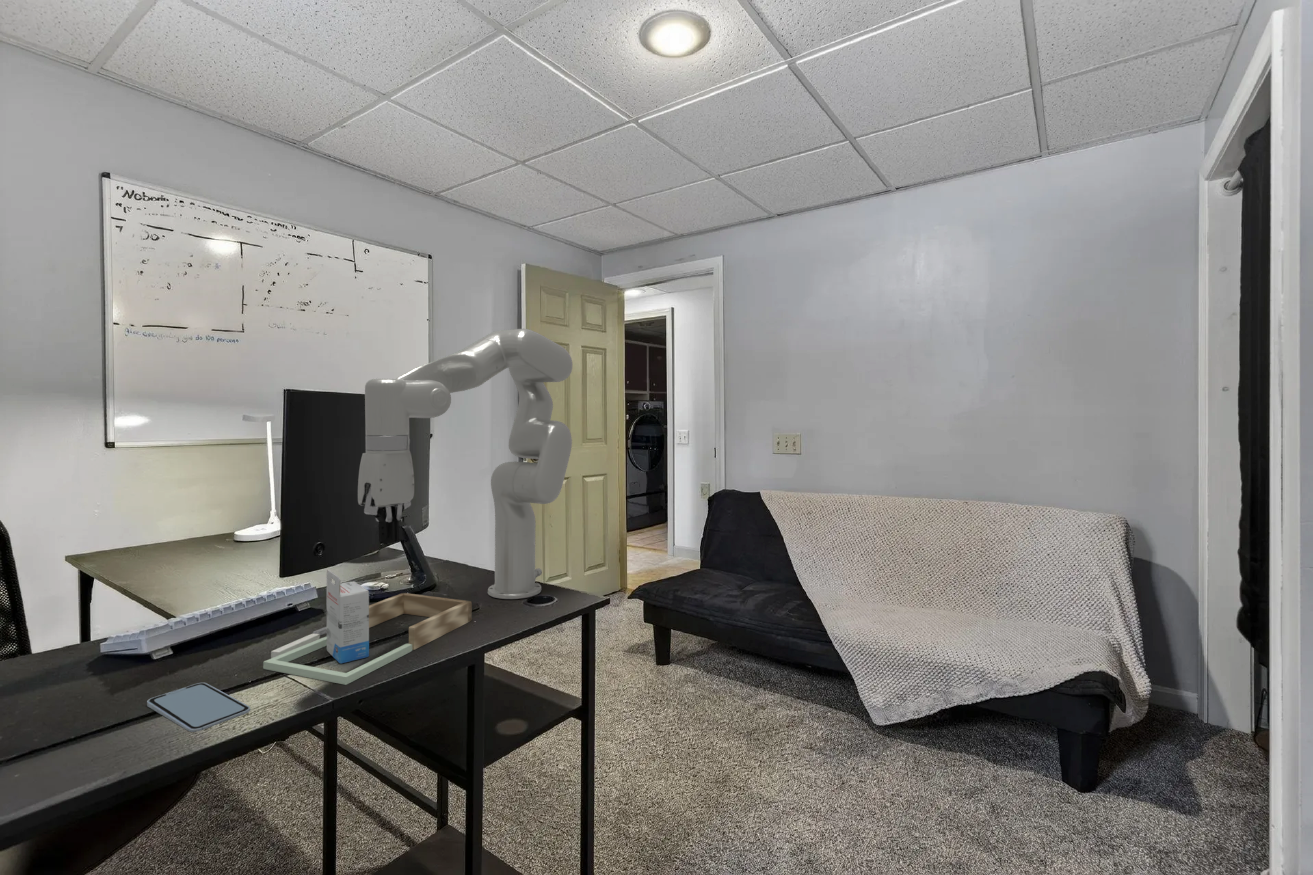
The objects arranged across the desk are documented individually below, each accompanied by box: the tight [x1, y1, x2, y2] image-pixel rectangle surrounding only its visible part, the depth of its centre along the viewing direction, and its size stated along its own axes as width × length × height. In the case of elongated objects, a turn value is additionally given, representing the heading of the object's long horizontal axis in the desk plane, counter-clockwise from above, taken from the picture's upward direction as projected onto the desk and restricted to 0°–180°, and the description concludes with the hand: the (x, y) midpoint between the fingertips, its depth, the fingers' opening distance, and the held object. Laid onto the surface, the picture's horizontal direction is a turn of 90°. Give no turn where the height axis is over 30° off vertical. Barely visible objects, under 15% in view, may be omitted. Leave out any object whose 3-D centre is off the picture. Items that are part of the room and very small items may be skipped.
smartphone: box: [146, 682, 251, 733], centre depth 85 cm, size 7×1×15 cm
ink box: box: [326, 568, 370, 664], centre depth 105 cm, size 9×5×15 cm, turn 43°
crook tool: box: [312, 625, 327, 637], centre depth 119 cm, size 12×5×1 cm, turn 161°
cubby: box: [369, 592, 473, 651], centre depth 118 cm, size 17×17×4 cm
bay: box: [262, 635, 413, 686], centre depth 103 cm, size 15×17×1 cm
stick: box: [270, 632, 321, 659], centre depth 107 cm, size 9×2×2 cm, turn 167°
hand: (388, 541), depth 113 cm, fingers closed
